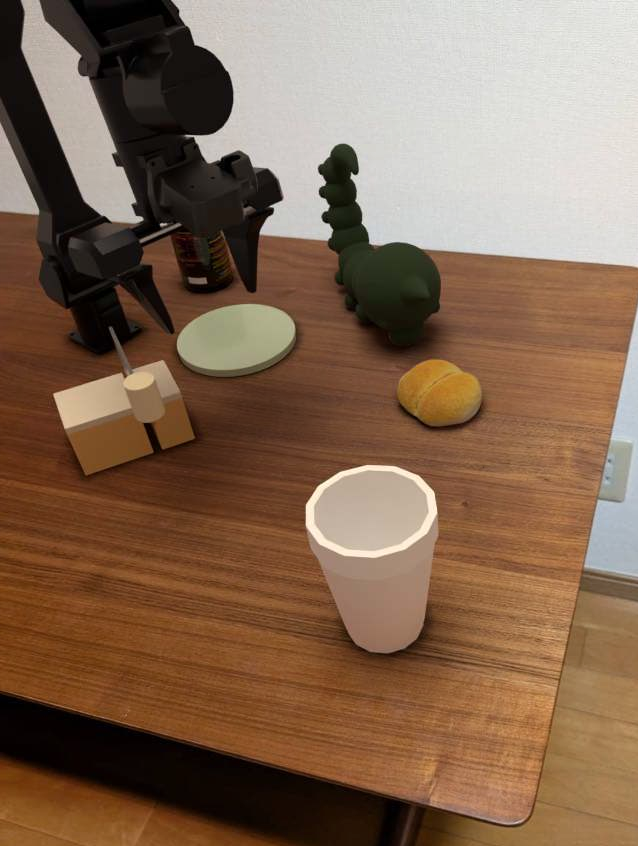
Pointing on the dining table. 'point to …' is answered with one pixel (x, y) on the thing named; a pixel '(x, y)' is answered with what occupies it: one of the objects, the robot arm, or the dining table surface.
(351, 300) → the toy figurine
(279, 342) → the plate
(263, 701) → the dining table surface
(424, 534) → the foam cup
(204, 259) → the supplement container
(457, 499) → the dining table surface
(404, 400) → the bread roll
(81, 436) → the cake
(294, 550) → the dining table surface
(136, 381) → the knife
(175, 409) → the cake slice
